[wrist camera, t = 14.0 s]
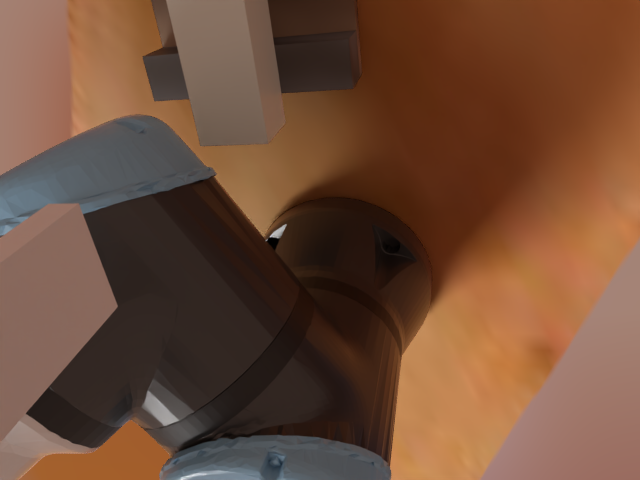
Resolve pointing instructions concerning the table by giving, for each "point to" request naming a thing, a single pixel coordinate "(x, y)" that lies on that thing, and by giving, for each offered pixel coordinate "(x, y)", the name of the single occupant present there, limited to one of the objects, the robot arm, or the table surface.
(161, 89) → the dark grey rimmed tray
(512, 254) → the table surface
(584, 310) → the table surface
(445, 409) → the table surface
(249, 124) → the clay strip
